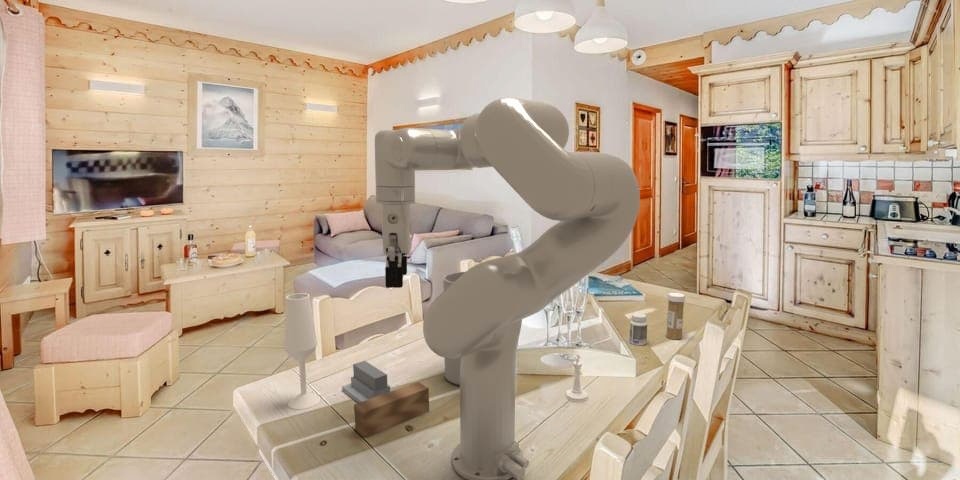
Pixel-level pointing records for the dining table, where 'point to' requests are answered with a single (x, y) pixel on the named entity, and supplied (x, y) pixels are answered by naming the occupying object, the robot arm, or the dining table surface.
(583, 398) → the chess piece
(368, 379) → the block
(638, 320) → the pill bottle
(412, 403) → the walnut block
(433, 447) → the dining table surface
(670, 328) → the sprinkles bottle
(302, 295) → the champagne flute
